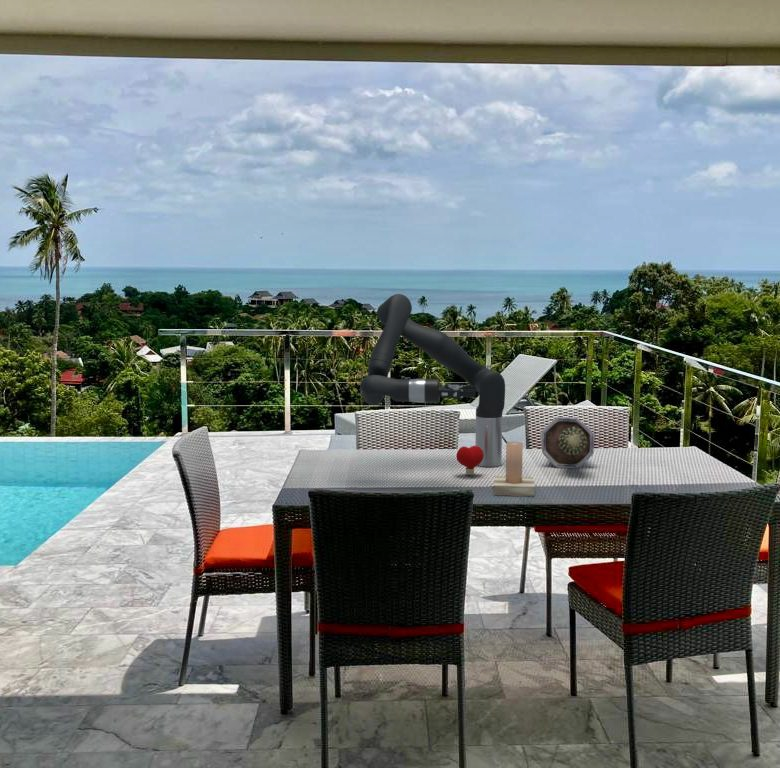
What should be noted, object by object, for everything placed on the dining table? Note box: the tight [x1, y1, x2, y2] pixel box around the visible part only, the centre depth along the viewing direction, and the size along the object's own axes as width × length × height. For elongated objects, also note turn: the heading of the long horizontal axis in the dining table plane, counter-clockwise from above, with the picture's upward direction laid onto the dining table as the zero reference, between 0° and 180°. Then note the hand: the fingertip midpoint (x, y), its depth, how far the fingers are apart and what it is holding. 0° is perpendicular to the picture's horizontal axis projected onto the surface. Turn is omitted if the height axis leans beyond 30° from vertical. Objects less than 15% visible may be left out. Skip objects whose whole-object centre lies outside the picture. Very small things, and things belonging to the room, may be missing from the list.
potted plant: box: [540, 416, 595, 469], centre depth 289 cm, size 18×18×30 cm
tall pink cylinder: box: [505, 441, 524, 484], centre depth 260 cm, size 5×5×12 cm
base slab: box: [493, 476, 536, 497], centre depth 261 cm, size 12×12×3 cm
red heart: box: [456, 445, 484, 477], centre depth 280 cm, size 9×7×10 cm
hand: (475, 391), depth 264 cm, fingers open, 8 cm apart
